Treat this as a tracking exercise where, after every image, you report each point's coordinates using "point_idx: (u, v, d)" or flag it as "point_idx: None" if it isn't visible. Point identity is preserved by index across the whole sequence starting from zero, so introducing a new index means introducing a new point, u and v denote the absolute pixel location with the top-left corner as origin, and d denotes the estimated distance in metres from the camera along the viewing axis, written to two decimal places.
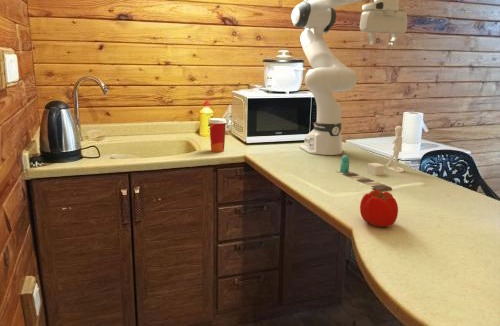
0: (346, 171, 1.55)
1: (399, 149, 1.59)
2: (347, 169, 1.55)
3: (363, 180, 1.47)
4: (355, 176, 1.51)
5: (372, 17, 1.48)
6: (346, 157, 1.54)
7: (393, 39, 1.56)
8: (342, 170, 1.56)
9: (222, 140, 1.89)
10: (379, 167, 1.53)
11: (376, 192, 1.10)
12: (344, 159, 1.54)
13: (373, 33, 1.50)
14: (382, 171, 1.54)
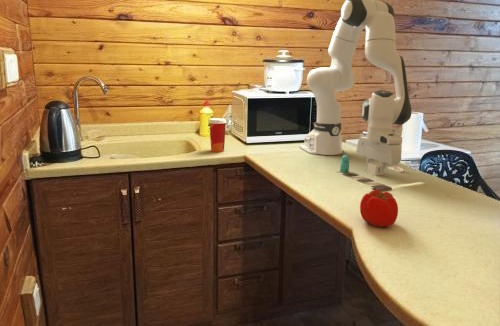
0: (346, 171, 1.55)
1: None
2: (347, 169, 1.55)
3: (363, 180, 1.47)
4: (355, 176, 1.51)
5: None
6: (346, 157, 1.54)
7: None
8: (342, 170, 1.56)
9: (222, 140, 1.89)
10: (379, 167, 1.53)
11: (376, 192, 1.10)
12: (344, 159, 1.54)
13: None
14: None
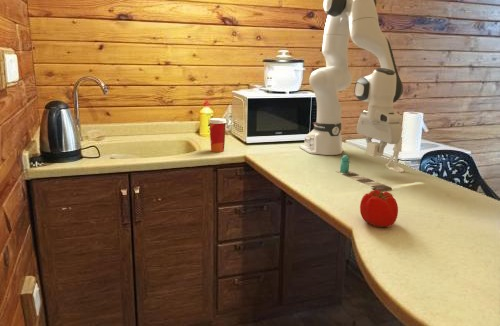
0: (346, 171, 1.55)
1: (399, 149, 1.59)
2: (347, 169, 1.55)
3: (363, 180, 1.47)
4: (355, 176, 1.51)
5: None
6: (346, 157, 1.54)
7: None
8: (342, 170, 1.56)
9: (222, 140, 1.89)
10: (378, 146, 1.51)
11: (376, 192, 1.10)
12: (344, 159, 1.54)
13: None
14: None
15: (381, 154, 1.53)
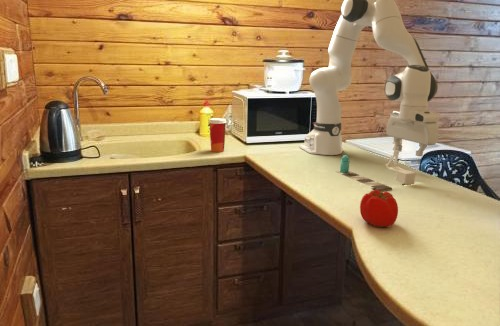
0: (346, 171, 1.55)
1: None
2: (347, 169, 1.55)
3: (363, 180, 1.47)
4: (355, 176, 1.51)
5: None
6: (346, 157, 1.54)
7: (398, 143, 1.48)
8: (342, 170, 1.56)
9: (222, 140, 1.89)
10: (409, 174, 1.44)
11: (376, 192, 1.10)
12: (344, 159, 1.54)
13: None
14: (412, 179, 1.45)
15: (412, 183, 1.45)
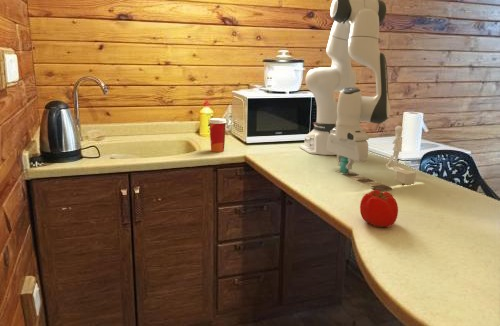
0: (346, 171, 1.55)
1: (399, 149, 1.59)
2: (347, 169, 1.55)
3: (363, 180, 1.47)
4: (355, 176, 1.51)
5: None
6: None
7: None
8: (342, 170, 1.56)
9: (222, 140, 1.89)
10: (409, 174, 1.44)
11: (376, 192, 1.10)
12: (344, 159, 1.54)
13: None
14: (412, 179, 1.45)
15: (412, 183, 1.45)
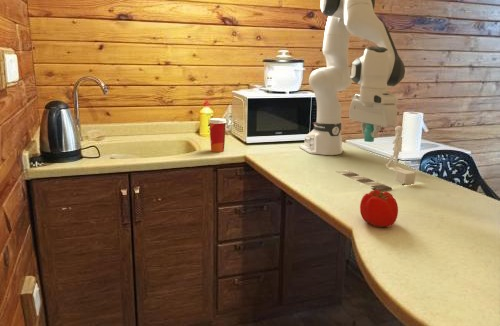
0: (371, 139, 1.41)
1: (399, 149, 1.59)
2: (372, 137, 1.41)
3: (363, 180, 1.47)
4: (355, 176, 1.51)
5: None
6: (371, 124, 1.40)
7: None
8: (367, 138, 1.41)
9: (222, 140, 1.89)
10: (409, 174, 1.44)
11: (376, 192, 1.10)
12: (369, 126, 1.40)
13: None
14: (412, 179, 1.45)
15: (412, 183, 1.45)
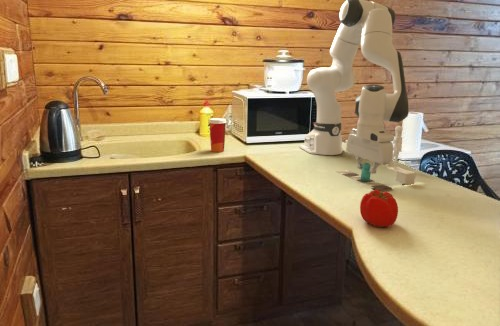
0: (367, 179, 1.45)
1: (399, 149, 1.59)
2: (368, 177, 1.45)
3: None
4: (355, 176, 1.51)
5: None
6: (368, 165, 1.44)
7: (360, 162, 1.48)
8: (363, 178, 1.45)
9: (222, 140, 1.89)
10: (409, 174, 1.44)
11: (376, 192, 1.10)
12: (366, 167, 1.44)
13: None
14: (412, 179, 1.45)
15: (412, 183, 1.45)
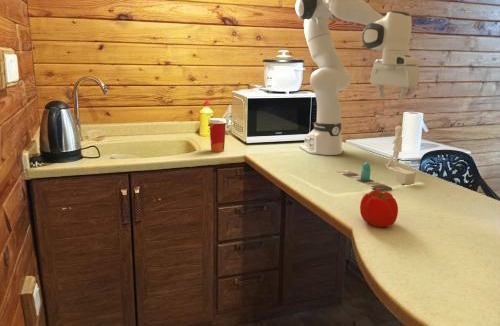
0: (367, 179, 1.45)
1: (399, 149, 1.59)
2: (368, 177, 1.45)
3: None
4: (355, 176, 1.51)
5: None
6: (367, 164, 1.44)
7: (381, 91, 1.52)
8: (363, 178, 1.45)
9: (222, 140, 1.89)
10: (409, 174, 1.44)
11: (376, 192, 1.10)
12: (365, 167, 1.44)
13: None
14: (412, 179, 1.45)
15: (412, 183, 1.45)
